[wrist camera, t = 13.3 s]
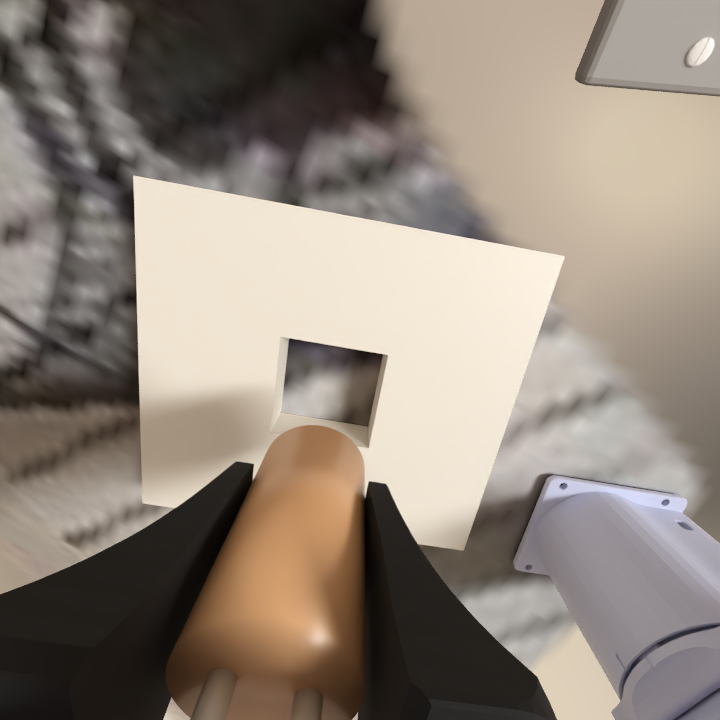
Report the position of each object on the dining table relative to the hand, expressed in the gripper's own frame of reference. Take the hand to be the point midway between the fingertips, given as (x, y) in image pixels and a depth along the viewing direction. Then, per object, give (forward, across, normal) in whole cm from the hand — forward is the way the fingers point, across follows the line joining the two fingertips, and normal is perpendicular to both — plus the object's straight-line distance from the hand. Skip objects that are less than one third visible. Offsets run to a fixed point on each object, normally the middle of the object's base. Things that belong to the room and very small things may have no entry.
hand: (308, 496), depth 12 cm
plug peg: (+2, 0, 0) cm, 2 cm away
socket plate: (+9, 0, -1) cm, 9 cm away
